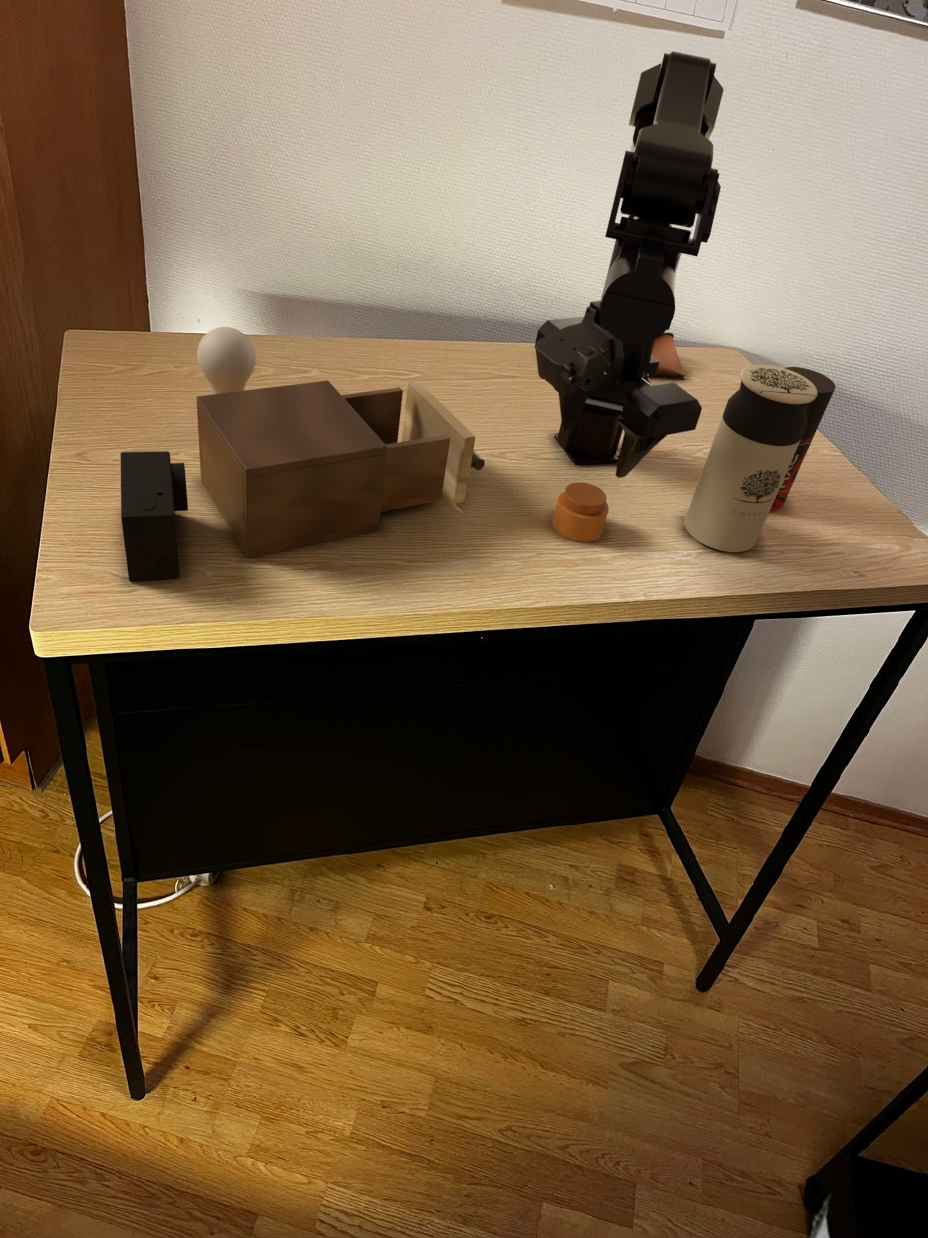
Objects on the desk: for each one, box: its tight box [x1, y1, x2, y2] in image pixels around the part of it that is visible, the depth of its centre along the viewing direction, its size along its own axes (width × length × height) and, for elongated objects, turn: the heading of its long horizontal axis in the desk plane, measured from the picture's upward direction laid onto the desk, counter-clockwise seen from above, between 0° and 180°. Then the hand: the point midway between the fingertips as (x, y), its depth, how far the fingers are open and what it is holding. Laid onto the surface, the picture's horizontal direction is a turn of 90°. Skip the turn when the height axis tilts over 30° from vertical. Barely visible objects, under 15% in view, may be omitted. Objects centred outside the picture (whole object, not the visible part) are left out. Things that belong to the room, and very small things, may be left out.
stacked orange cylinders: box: [551, 481, 610, 543], centre depth 94 cm, size 5×5×4 cm
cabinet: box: [195, 380, 387, 559], centre depth 88 cm, size 14×14×10 cm
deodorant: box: [769, 366, 836, 513], centre depth 101 cm, size 6×6×15 cm
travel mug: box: [683, 364, 817, 553], centre depth 93 cm, size 8×8×18 cm
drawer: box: [341, 379, 486, 513], centre depth 94 cm, size 17×12×8 cm
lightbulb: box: [196, 326, 257, 395], centre depth 98 cm, size 6×6×11 cm
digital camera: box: [120, 450, 189, 582], centre depth 81 cm, size 10×5×7 cm, turn 17°
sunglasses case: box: [648, 331, 687, 377], centre depth 128 cm, size 18×7×7 cm, turn 102°
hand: (593, 452), depth 90 cm, fingers open, 9 cm apart
